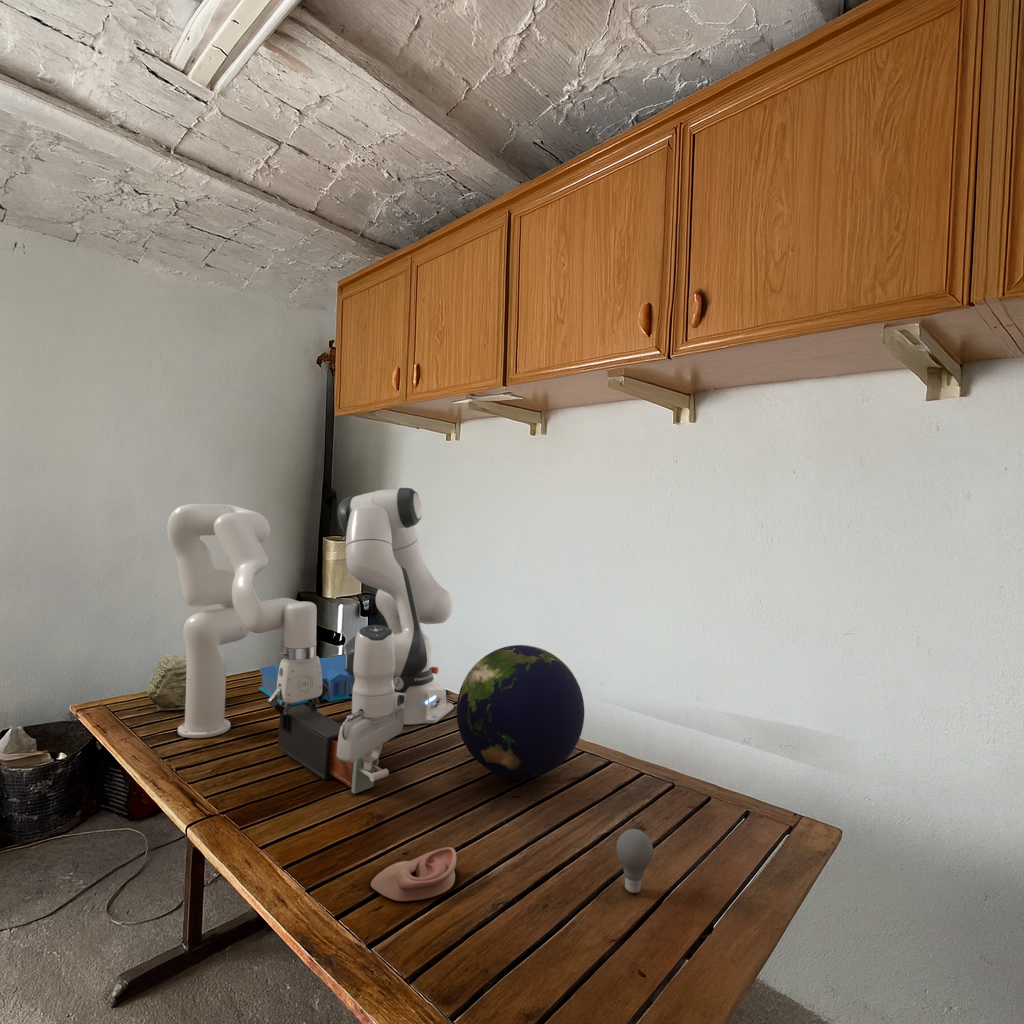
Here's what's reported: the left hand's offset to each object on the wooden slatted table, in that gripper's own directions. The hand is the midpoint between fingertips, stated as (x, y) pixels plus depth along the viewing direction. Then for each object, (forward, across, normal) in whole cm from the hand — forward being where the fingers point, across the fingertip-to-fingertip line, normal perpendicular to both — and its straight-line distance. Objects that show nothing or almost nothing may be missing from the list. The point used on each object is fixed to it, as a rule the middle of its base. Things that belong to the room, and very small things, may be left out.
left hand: (298, 725), depth 155 cm
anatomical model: (+8, -13, -60) cm, 62 cm away
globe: (+8, +31, -44) cm, 55 cm away
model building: (+7, +36, +40) cm, 54 cm away
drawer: (+7, 0, -20) cm, 21 cm away
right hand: (+2, 0, -29) cm, 29 cm away
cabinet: (+7, 0, -6) cm, 9 cm away
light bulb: (+9, +11, -87) cm, 88 cm away
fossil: (+6, -6, +53) cm, 53 cm away
